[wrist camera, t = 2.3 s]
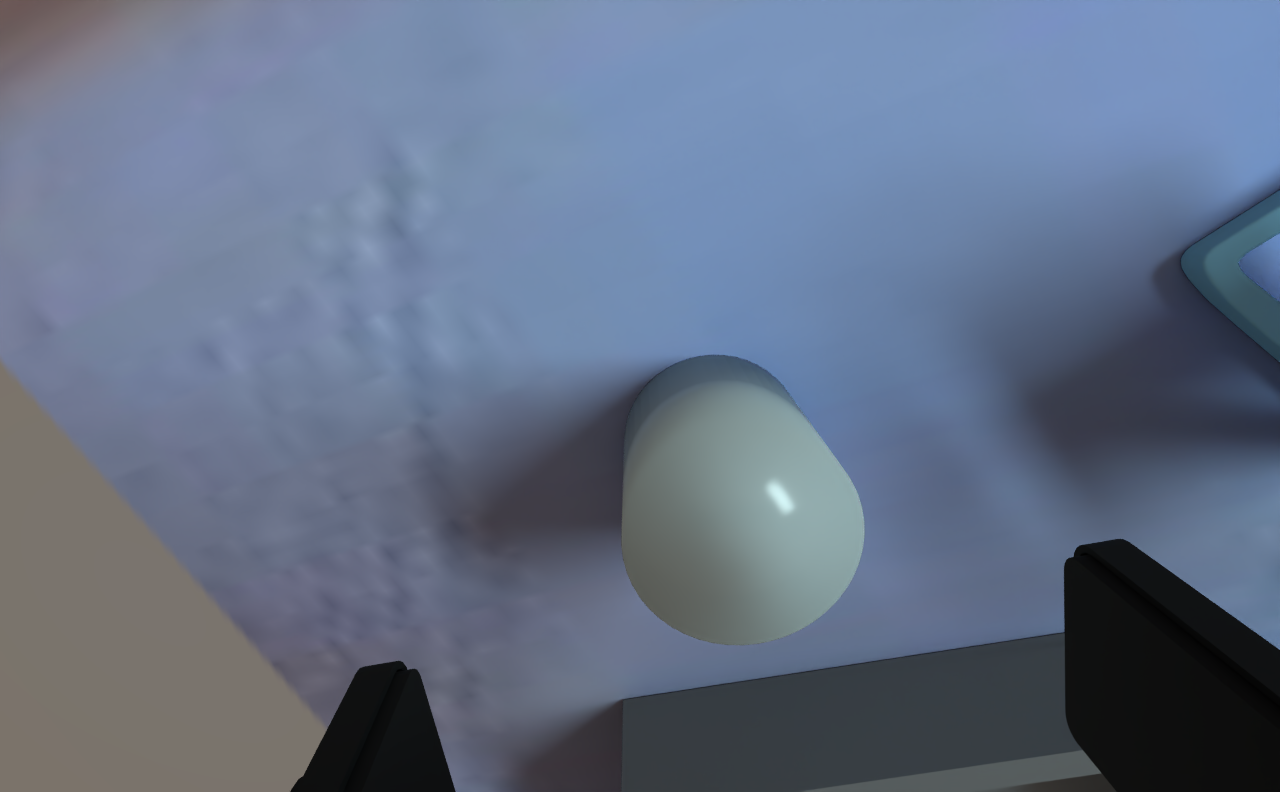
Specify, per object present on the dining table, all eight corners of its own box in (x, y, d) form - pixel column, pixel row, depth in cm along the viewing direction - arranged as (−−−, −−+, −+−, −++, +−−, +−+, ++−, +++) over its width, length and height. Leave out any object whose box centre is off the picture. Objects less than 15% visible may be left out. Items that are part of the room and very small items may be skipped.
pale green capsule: (790, 340, 20) (853, 405, 15) (810, 506, 22) (874, 626, 16) (609, 371, 21) (601, 446, 15) (640, 534, 22) (643, 661, 16)
